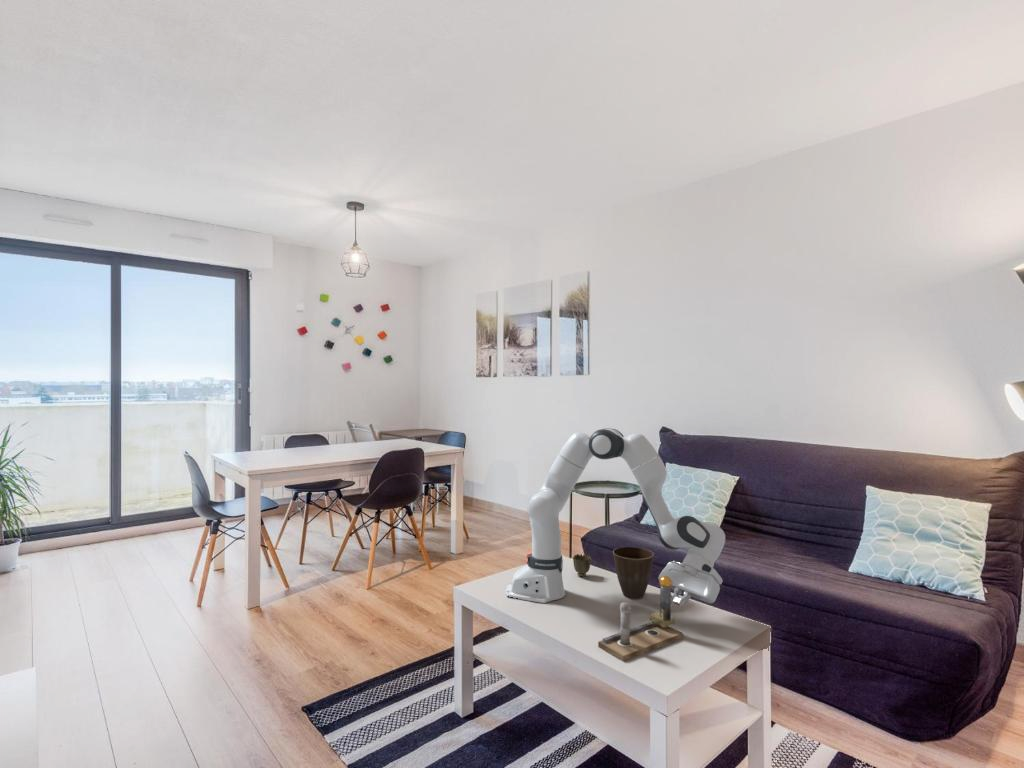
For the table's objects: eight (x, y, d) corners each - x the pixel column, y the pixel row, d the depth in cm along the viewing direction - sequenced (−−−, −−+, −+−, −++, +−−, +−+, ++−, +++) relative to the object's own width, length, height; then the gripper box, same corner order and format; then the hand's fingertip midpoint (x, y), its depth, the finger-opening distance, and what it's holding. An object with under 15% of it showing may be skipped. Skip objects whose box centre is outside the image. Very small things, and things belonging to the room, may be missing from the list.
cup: (587, 580, 207) (587, 560, 207) (570, 577, 210) (570, 557, 210) (593, 574, 213) (593, 555, 213) (576, 571, 217) (576, 552, 217)
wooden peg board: (657, 625, 166) (657, 583, 166) (682, 637, 158) (682, 593, 158) (598, 646, 152) (598, 601, 152) (623, 661, 143) (623, 613, 144)
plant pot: (645, 607, 181) (645, 561, 181) (606, 597, 189) (606, 553, 190) (659, 593, 193) (659, 551, 194) (621, 585, 202) (621, 544, 202)
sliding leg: (658, 619, 166) (658, 570, 166) (675, 627, 161) (675, 576, 161) (649, 623, 163) (649, 573, 164) (665, 630, 158) (665, 579, 159)
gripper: (666, 554, 177) (646, 588, 172) (719, 571, 160) (699, 609, 155) (674, 564, 180) (655, 598, 174) (727, 582, 163) (708, 621, 157)
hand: (676, 604), depth 164 cm, fingers closed
